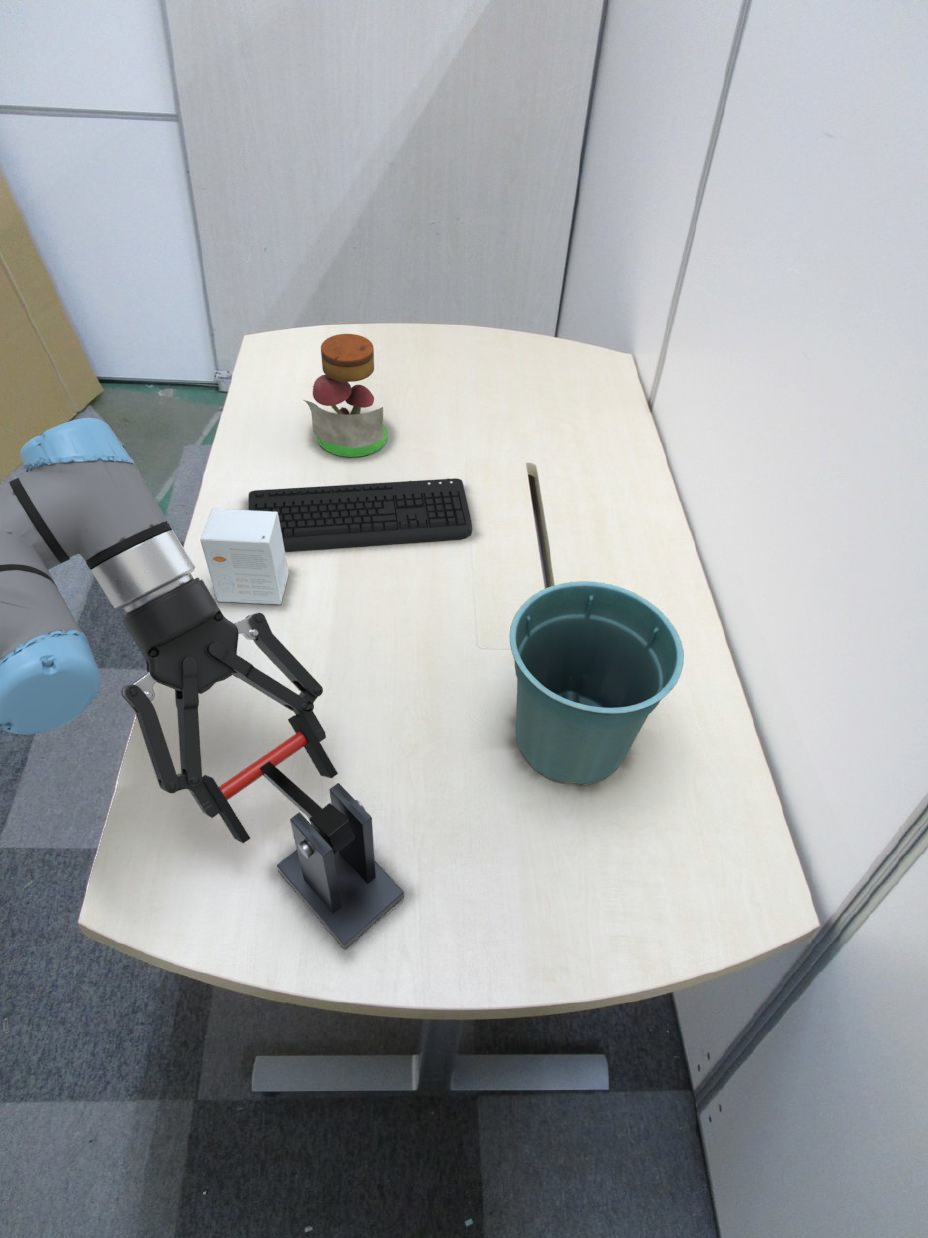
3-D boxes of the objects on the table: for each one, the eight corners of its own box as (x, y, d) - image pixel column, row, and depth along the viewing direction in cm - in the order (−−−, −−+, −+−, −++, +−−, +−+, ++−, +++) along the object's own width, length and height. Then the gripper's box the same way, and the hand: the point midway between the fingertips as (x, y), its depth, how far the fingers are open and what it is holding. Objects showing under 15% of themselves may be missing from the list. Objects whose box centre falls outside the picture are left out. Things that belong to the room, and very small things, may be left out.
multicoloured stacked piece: (307, 415, 123) (298, 325, 112) (388, 414, 125) (386, 325, 114) (306, 461, 115) (296, 369, 104) (392, 459, 117) (391, 368, 106)
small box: (289, 574, 100) (279, 510, 92) (281, 606, 96) (270, 542, 88) (226, 570, 100) (211, 506, 92) (215, 602, 96) (198, 538, 88)
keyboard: (249, 554, 102) (246, 543, 100) (250, 500, 109) (248, 489, 107) (473, 538, 106) (474, 527, 105) (460, 487, 113) (461, 476, 112)
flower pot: (484, 682, 90) (496, 583, 78) (622, 672, 92) (654, 575, 80) (509, 811, 79) (527, 720, 67) (664, 797, 81) (709, 705, 69)
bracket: (277, 870, 74) (258, 803, 64) (337, 824, 77) (327, 754, 68) (344, 950, 69) (334, 890, 60) (404, 897, 73) (404, 833, 63)
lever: (220, 800, 71) (212, 782, 70) (302, 743, 75) (295, 725, 74) (301, 882, 63) (293, 864, 61) (387, 813, 67) (381, 794, 66)
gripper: (252, 545, 77) (361, 737, 82) (32, 659, 66) (173, 873, 71) (277, 532, 71) (394, 741, 75) (39, 656, 60) (193, 892, 64)
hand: (287, 805), depth 73 cm, fingers open, 9 cm apart
